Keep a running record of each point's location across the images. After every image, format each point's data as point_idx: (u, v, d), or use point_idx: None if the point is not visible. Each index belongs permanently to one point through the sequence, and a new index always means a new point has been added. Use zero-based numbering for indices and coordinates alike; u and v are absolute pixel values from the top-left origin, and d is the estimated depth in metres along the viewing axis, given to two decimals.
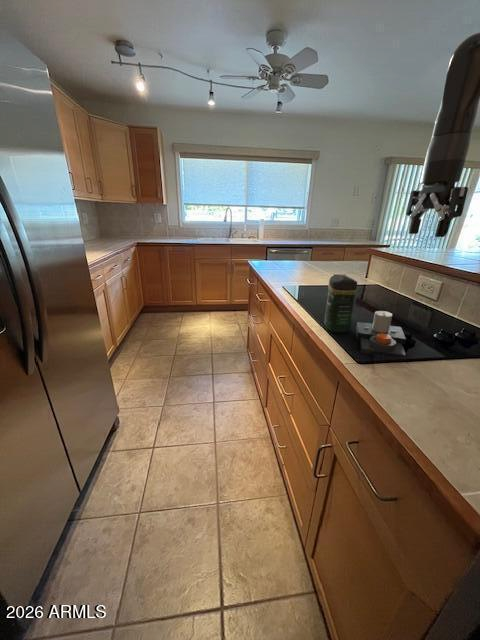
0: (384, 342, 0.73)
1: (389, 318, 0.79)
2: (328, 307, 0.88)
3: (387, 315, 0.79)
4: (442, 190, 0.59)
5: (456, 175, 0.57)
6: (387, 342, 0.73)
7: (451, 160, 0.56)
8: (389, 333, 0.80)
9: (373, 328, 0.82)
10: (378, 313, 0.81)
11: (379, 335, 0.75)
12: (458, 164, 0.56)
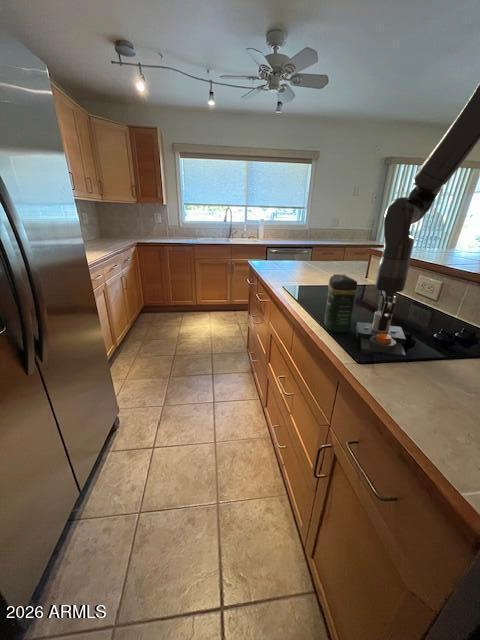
0: (384, 342, 0.73)
1: None
2: (328, 307, 0.88)
3: None
4: (384, 296, 0.76)
5: (393, 288, 0.73)
6: (387, 342, 0.73)
7: (387, 277, 0.73)
8: (389, 333, 0.80)
9: (373, 328, 0.82)
10: (378, 313, 0.80)
11: (379, 335, 0.75)
12: (394, 281, 0.73)
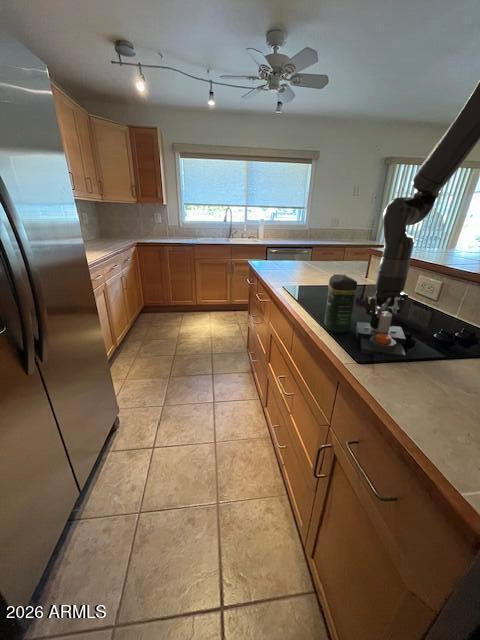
0: (384, 342, 0.73)
1: (382, 318, 0.79)
2: (328, 307, 0.88)
3: (382, 315, 0.79)
4: None
5: (381, 286, 0.75)
6: (387, 342, 0.73)
7: (378, 275, 0.76)
8: (389, 333, 0.80)
9: None
10: None
11: (379, 335, 0.75)
12: (381, 279, 0.75)
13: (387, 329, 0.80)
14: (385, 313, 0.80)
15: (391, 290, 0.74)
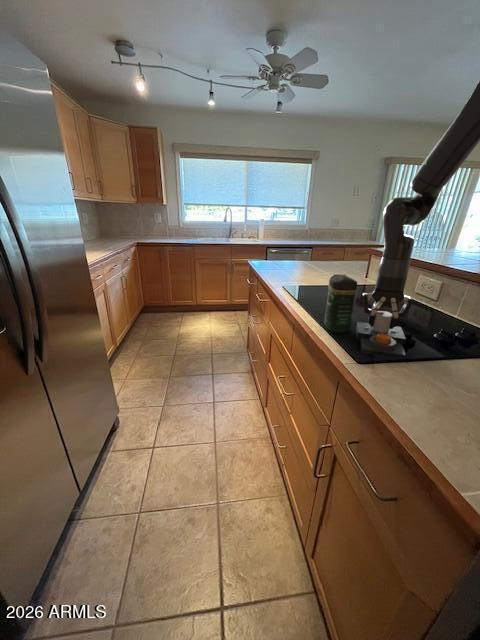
0: (384, 342, 0.73)
1: (376, 316, 0.80)
2: (328, 307, 0.88)
3: (378, 314, 0.80)
4: None
5: (376, 284, 0.77)
6: (387, 342, 0.73)
7: None
8: (389, 333, 0.80)
9: None
10: (381, 311, 0.82)
11: (379, 335, 0.75)
12: (377, 277, 0.77)
13: (382, 329, 0.80)
14: (385, 314, 0.80)
15: (382, 289, 0.75)
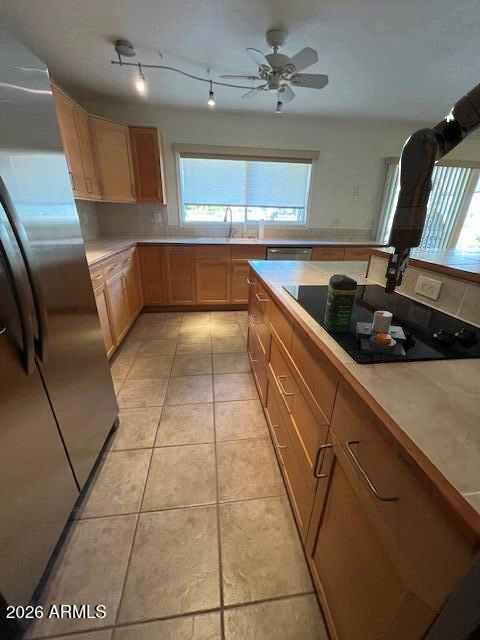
0: (384, 342, 0.73)
1: (376, 316, 0.80)
2: (328, 307, 0.88)
3: (378, 314, 0.80)
4: (393, 253, 0.66)
5: (403, 242, 0.64)
6: (387, 342, 0.73)
7: (396, 230, 0.64)
8: (389, 333, 0.80)
9: None
10: (381, 311, 0.82)
11: (379, 335, 0.75)
12: (403, 233, 0.63)
13: (382, 329, 0.80)
14: (385, 313, 0.80)
15: (414, 245, 0.63)
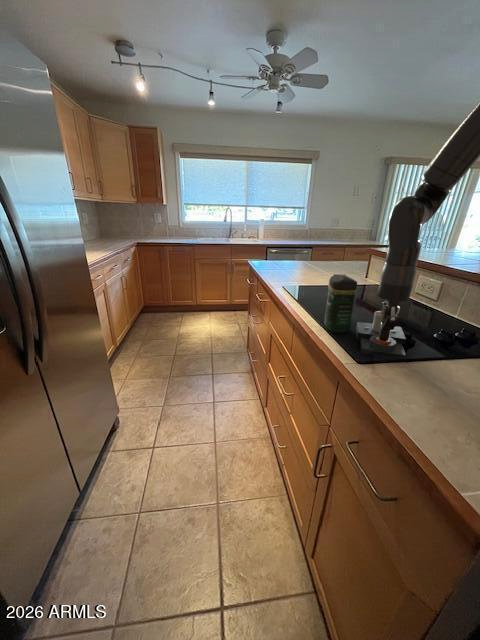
0: None
1: (376, 316, 0.80)
2: (328, 307, 0.88)
3: (378, 314, 0.80)
4: (388, 306, 0.68)
5: (398, 297, 0.66)
6: None
7: (391, 285, 0.66)
8: None
9: None
10: None
11: (378, 338, 0.75)
12: (398, 289, 0.65)
13: None
14: None
15: (407, 299, 0.67)
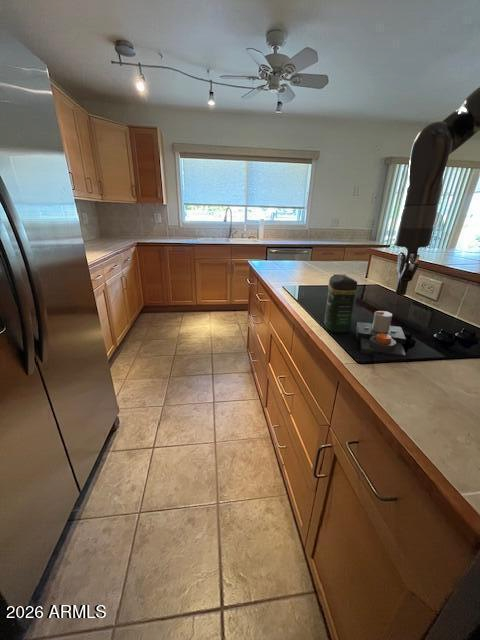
0: (384, 342, 0.73)
1: (376, 316, 0.80)
2: (328, 307, 0.88)
3: (378, 314, 0.80)
4: (406, 253, 0.63)
5: (417, 242, 0.61)
6: (387, 342, 0.73)
7: (410, 229, 0.61)
8: (389, 333, 0.80)
9: None
10: (381, 311, 0.82)
11: (379, 335, 0.75)
12: (418, 232, 0.60)
13: (382, 329, 0.80)
14: (385, 313, 0.80)
15: (427, 244, 0.61)
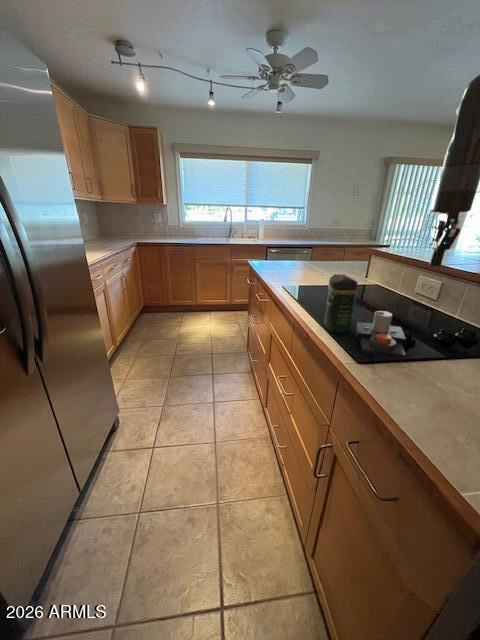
0: (384, 342, 0.73)
1: (376, 316, 0.80)
2: (328, 307, 0.88)
3: (378, 314, 0.80)
4: (445, 219, 0.59)
5: (459, 205, 0.57)
6: (387, 342, 0.73)
7: (452, 191, 0.57)
8: (389, 333, 0.80)
9: None
10: (381, 311, 0.82)
11: (379, 335, 0.75)
12: (461, 195, 0.56)
13: (382, 329, 0.80)
14: (385, 313, 0.80)
15: (469, 208, 0.58)
